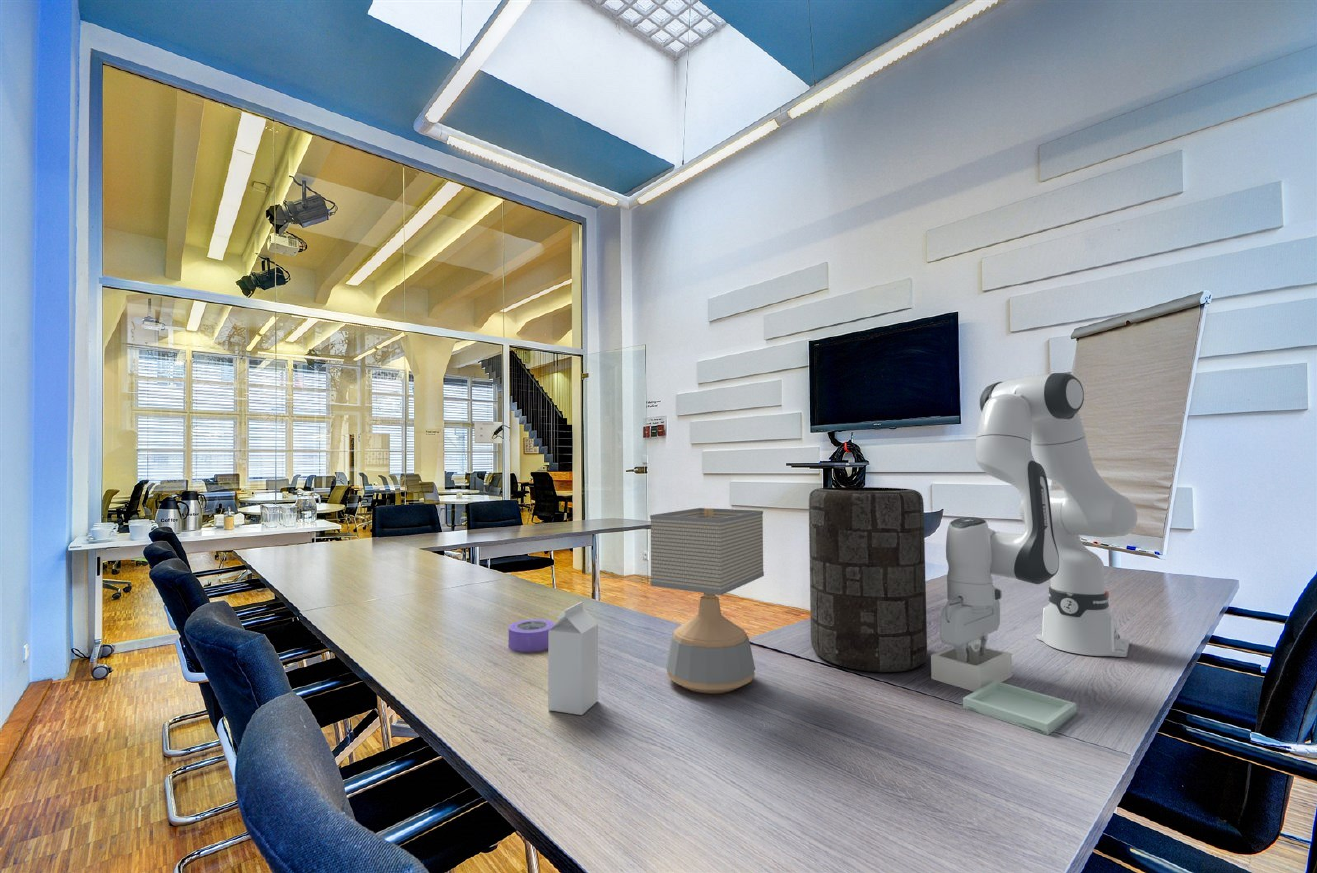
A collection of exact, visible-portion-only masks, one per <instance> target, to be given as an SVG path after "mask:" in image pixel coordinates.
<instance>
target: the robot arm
mask: <svg viewBox="0 0 1317 873" xmlns="http://www.w3.org/2000/svg"><path fill="white" fill-rule="evenodd" d="M1084 400H1085V393H1084V387H1083V385H1082V383H1081V381H1080V380H1079V378H1076V377H1075V376H1074V375H1073V374H1071V373H1067V372H1054V373H1051V374H1036V375H1035V374H1033V375H1027V376H1023V377H1019V378H1013V379H1009V380H1006V381H998V382H995V383H992V384H990V385H987V386H986V387H985V388H984V390H983V391H982V392H981V394H980V397H979V407H980V411H981V414H980V417H979V421H978V425H977V432H976V437H975V439H976V440H975V446H974V457H975V461H976V463H977V465H978V466H979V467H980V469H981V470H982V471H983V472H984V473H986V474H987V475H989V476H991V477H993V478H995V479H997V480H1000V481H1002V482H1005V483H1007V484H1009V485H1011V486H1014V487H1015V488H1016V489H1017V490H1018V491H1019V493H1020V495H1021V498H1022V499H1021V501H1020V504H1019V515H1020V517H1021V520H1022V521H1023V523H1024V527H1025V528H1024V529H1025V530H1024V532H1023V533H1022V534H1021V533H1011V532H1010V533H1009V532H1000V531H995V530H994V529H992V528H989V525H988V521H987V520H985V519H983V518H980V517H973V516H971V517H970V516H968V517H959V518H956V519H953V520H951V521H950V522H949V524H948V526H947V531H946V539H945V540H946V541H945V559H946V563H947V566H948V567H947V569H948V570H947V573H946V598H947V603H946V605H945V606H944V607H942V610H941V615H940V625H939V626H940V627H939V638H940V640H941V642H942V643H943V644H945V645H949V646H951V647H953V646H954V648H955V650H956V653H957V660H958V661H960V662H964V663H967V662H968V661H969V654H967V652H966V648H965V647H967V642H970V641H972V640H975V639H977V638H979V639H980V638H981V637H982V639H981V647H980V656H982V655H984V654H985V647H986V646H987V642H988V640H989V639H988V638H989V637H988V636H989V634H991V633H994V632H996V631H998V630H999V627H1000V625H1001V601H1000V600H1001V599H1002V597H1003V594H1002V589H1001V588H998V587H995V586H994V585H993V584H994V583H993V582H994V581H993V577H992V575H994V576H997V577H1002V578H1009V579H1010V578H1011V579H1015V580H1019V581H1021V582H1026V583H1030V584H1033V585H1042V584H1044V583H1045V582H1048V581H1049V580H1050V581H1049V582H1050V586H1049V587H1048V592H1047V593H1048V601H1049V604H1048V605H1046V606H1044V607H1043V609H1042V610H1043V611H1042V630H1041V632H1040V633H1036V636H1035V637H1036V640H1039V641H1042V642H1043V643H1045V644H1046V645H1047V646H1049V647H1051V648H1054V649H1057V650H1060V651H1064V652H1067V653H1072V654H1077V655H1084V656H1095V657H1117V658H1118V657H1120V658H1127V657H1128V653H1129V650H1130V649H1129V648H1130V640H1129V639H1128V638H1126V637H1122V636H1120V633H1119V632H1118V630H1119V628H1118V627H1119V626H1118V620H1117V618H1116V617H1115V616H1114V614H1113V613H1112V612H1111V611H1110V609H1109V608H1110V607H1109V606H1110V605H1109V604H1110V603H1109V597H1110V593H1109V591H1108V590H1106V589H1105V584H1106V583H1105V566H1104V562H1103V561H1102V559H1101V557H1100V556H1099V555H1097V554H1096V553H1094V552H1093V551H1091V550H1090V549H1088V548H1087V547H1086V546H1085V544H1084V543H1083V542H1082V540H1081V537H1080V536H1086V537H1093V538H1094V537H1096V538H1115V537H1116V538H1117V537H1125V536H1127V535H1129V534H1130V533H1131V532H1132V531H1134V530H1133V529H1134V528H1136V524H1137V522H1138V512H1137V509H1136V507H1135V505H1134V503H1133V502H1132V500H1130V499H1129V498H1128V497H1126V495H1122V494H1120V493H1119V492H1118V491H1117V490H1115V489H1113V487H1111V486H1110V485H1109V484H1108V483H1107V482H1106V481H1105V480H1104V479H1103V478H1102V476H1101V475H1100V474H1099V472H1098V471H1097V469H1096V468H1095V465H1094V464H1093V460H1092V457H1091V453H1090V450H1089V447H1088V443H1087V438H1086V434H1085V430H1084V425H1083V422H1082V419H1081V417H1080V414H1079V411H1080V410H1081V409H1082V406H1083V404H1084ZM1032 447H1033V451H1034V455H1033V452H1032ZM1034 456H1035V458H1034ZM1035 459H1036V460H1035ZM1048 480H1051V481H1052V482H1054V483H1055V484H1057V486H1059V487H1060V488H1061V490H1059V489H1057V490H1056V489H1054V490H1053V489H1049V484H1048ZM983 632H984V634H983ZM982 635H983V636H982Z"/></svg>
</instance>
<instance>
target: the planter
mask: <svg viewBox="0 0 1317 873" xmlns="http://www.w3.org/2000/svg"><path fill="white" fill-rule="evenodd" d="M808 497H809V498H808V532H809V533H808V535H809V536H808V537H809V539H808V541H809V543H808V544H809V595H810V596H809V602H810V603H809V604H810V605H809V607H810V612H809V614H810V642H811V647H812V649H813V651H814V652H815V654H817V656H819V657H820V658H821V659H822V660H825V661H827V662H829V663H831V664H834V665H836V666H840V667H844V668H847V669H852V670H855V671H856V670H857V671H862V672H872V673H874V672H875V673H897V672H904V671H910V670H914V669H915V668H918V667H920V666H921V665H922V664H923V663H925V661H926V659H927V655H928V654H927V653H928V631H927V629H928V628H927V627H928V626H927V589H926V588H927V586H926V583H927V582H926V550H925V549H926V545H925V543H926V542H925V539H926V538H925V509H924V508H925V507H924V506H925V505H924V498H923V495H922V494H921V492H920V491H918V490H915V489H911V488H903V487H902V488H899V487H877V486H876V487H873V486H855V487H854V486H852V487H851V486H845V487H843V486H841V487H840V486H837V487H834V486H833V487H820V488H816V489H815V488H814V489H813V490H812V491H811V492H810V493H809V496H808Z"/></svg>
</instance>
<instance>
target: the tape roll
mask: <svg viewBox="0 0 1317 873" xmlns="http://www.w3.org/2000/svg"><path fill="white" fill-rule="evenodd" d="M555 624H556V623H555V622H554V621H552V620H549V619H543V618H542V619H540V618H538V619H537V618H533V619H532V618H531V619H530V618H529V619H524V620H523V619H522V620H519V621H514V622H512V623H511V624H509V626H508V648H509V649H510V650H512V651H516V652H521V653H522V652H524V653H527V652H529V653H530V652H539V651H544V650H548V635H549V629H551V628H552V627H553V626H554V625H555Z"/></svg>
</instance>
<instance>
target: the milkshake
mask: <svg viewBox="0 0 1317 873" xmlns="http://www.w3.org/2000/svg"><path fill="white" fill-rule="evenodd" d="M983 634H984V632H983ZM982 636H983V635H982ZM981 639H982V637H981V638H980V639H979V638H977V639H975V640H972V641H970V642H967V647H965V648H966V652H967V654H969V661H968V662H967V663H968V664H972V665H975V666H978V665H979V656H980V647H981Z"/></svg>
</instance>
